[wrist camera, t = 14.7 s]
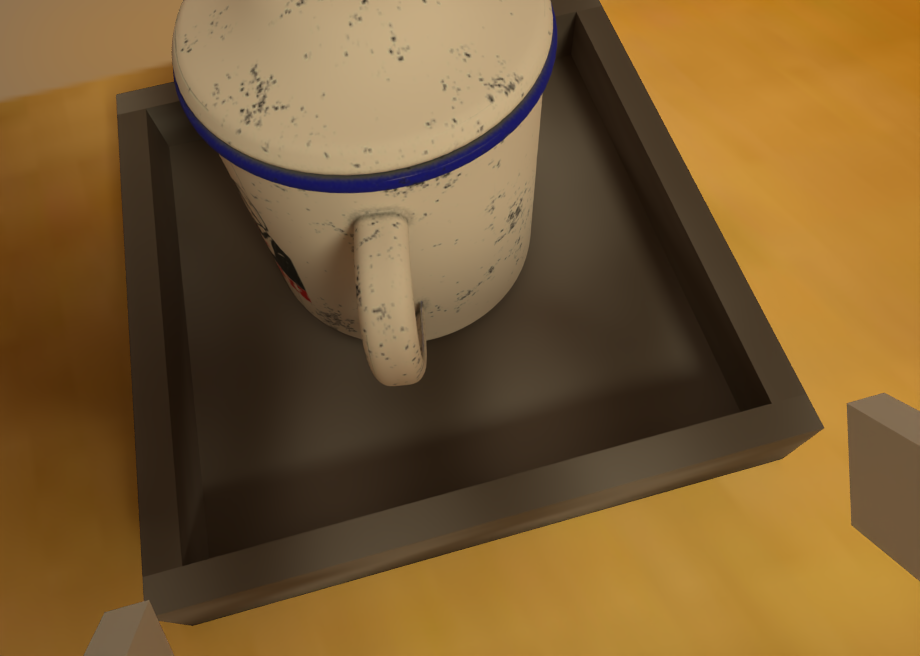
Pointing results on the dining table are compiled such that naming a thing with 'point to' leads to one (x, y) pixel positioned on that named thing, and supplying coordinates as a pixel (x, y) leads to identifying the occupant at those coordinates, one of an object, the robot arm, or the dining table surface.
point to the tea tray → (435, 362)
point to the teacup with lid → (377, 151)
